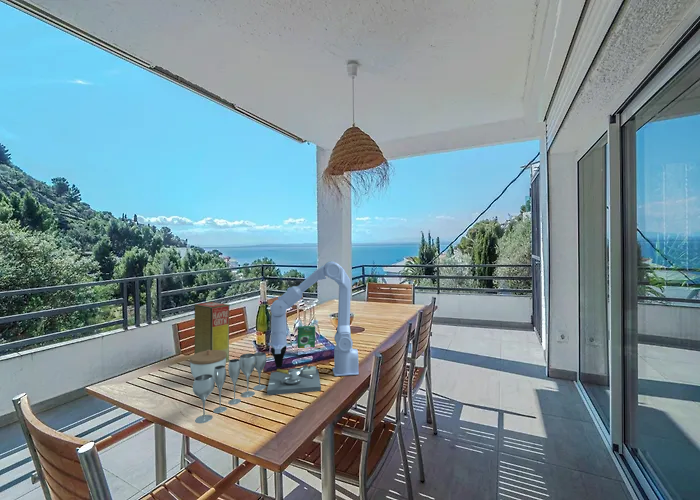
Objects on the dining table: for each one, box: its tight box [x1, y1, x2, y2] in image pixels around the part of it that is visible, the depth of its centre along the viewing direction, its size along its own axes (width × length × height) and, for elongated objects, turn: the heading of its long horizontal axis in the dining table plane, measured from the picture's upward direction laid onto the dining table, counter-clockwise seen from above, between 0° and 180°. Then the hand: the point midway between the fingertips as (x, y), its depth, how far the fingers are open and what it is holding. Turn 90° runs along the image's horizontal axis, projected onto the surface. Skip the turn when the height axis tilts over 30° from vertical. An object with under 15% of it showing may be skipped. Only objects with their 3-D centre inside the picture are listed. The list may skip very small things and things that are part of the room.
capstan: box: [276, 364, 313, 384], centre depth 111 cm, size 15×15×4 cm
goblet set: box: [192, 351, 267, 424], centre depth 100 cm, size 28×6×13 cm, turn 153°
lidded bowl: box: [189, 350, 227, 379], centre depth 118 cm, size 13×13×11 cm
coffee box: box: [296, 324, 316, 348], centre depth 145 cm, size 8×3×13 cm, turn 110°
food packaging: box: [193, 301, 230, 363], centre depth 137 cm, size 13×9×25 cm
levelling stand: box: [266, 365, 322, 396], centre depth 114 cm, size 18×16×4 cm
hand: (279, 366), depth 120 cm, fingers closed
